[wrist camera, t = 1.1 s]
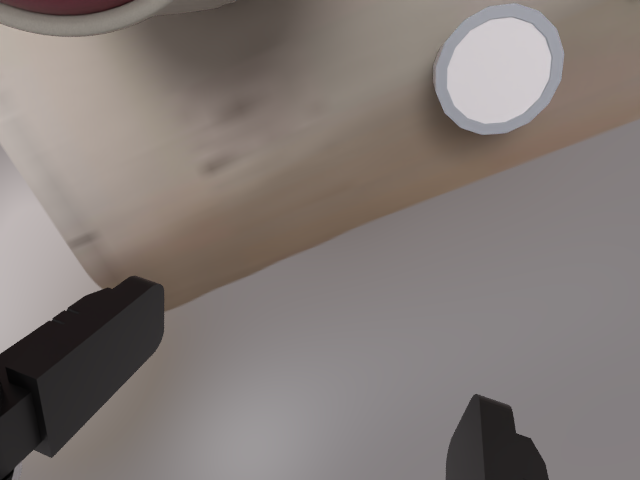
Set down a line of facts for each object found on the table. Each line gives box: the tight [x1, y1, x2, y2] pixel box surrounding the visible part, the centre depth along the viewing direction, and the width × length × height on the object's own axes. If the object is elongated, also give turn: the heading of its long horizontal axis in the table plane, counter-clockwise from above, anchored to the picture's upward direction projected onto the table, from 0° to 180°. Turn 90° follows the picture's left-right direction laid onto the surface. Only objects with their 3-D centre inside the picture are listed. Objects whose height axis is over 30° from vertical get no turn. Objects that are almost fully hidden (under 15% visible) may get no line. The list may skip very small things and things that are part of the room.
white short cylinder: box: [433, 3, 564, 135], centre depth 26 cm, size 7×7×7 cm
